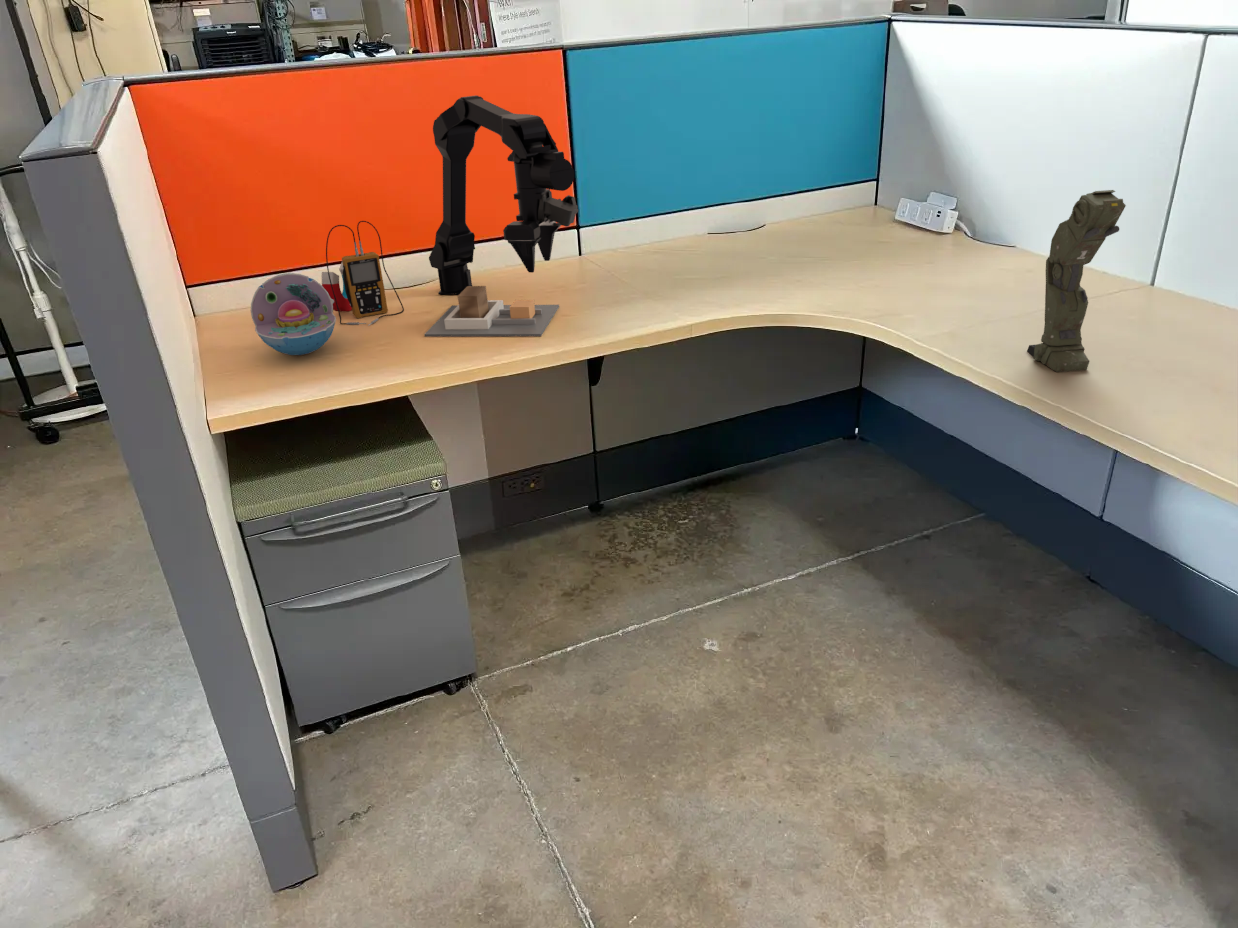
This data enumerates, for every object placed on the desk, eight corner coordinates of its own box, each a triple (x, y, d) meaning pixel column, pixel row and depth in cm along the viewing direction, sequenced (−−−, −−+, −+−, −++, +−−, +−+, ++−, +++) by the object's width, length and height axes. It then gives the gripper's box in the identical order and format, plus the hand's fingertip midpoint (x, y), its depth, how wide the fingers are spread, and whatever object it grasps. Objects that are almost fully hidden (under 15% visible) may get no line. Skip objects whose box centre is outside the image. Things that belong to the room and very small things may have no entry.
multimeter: (345, 331, 185) (326, 235, 176) (335, 319, 193) (316, 226, 184) (414, 318, 191) (399, 224, 181) (402, 307, 199) (387, 216, 189)
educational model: (265, 374, 165) (245, 295, 158) (258, 344, 180) (240, 271, 173) (351, 359, 170) (335, 282, 163) (337, 331, 186) (322, 259, 179)
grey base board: (424, 336, 180) (422, 324, 178) (452, 307, 196) (450, 296, 195) (541, 336, 176) (539, 324, 175) (559, 306, 193) (558, 295, 192)
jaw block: (461, 324, 184) (457, 296, 181) (470, 313, 190) (467, 286, 187) (480, 324, 183) (476, 296, 181) (489, 313, 189) (485, 286, 187)
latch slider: (511, 321, 183) (509, 307, 182) (516, 313, 188) (515, 299, 186) (530, 321, 183) (528, 307, 181) (535, 313, 187) (533, 299, 186)
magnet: (352, 302, 204) (344, 259, 199) (364, 302, 203) (355, 259, 199) (328, 318, 194) (318, 273, 189) (339, 319, 193) (330, 273, 188)
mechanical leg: (1011, 339, 160) (1061, 178, 140) (1050, 336, 160) (1105, 175, 140) (1046, 384, 149) (1105, 217, 130) (1087, 381, 150) (1153, 214, 130)
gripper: (554, 195, 162) (562, 279, 169) (585, 177, 178) (591, 255, 185) (497, 195, 165) (507, 278, 172) (533, 178, 181) (541, 255, 188)
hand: (539, 266), depth 179 cm, fingers open, 9 cm apart
